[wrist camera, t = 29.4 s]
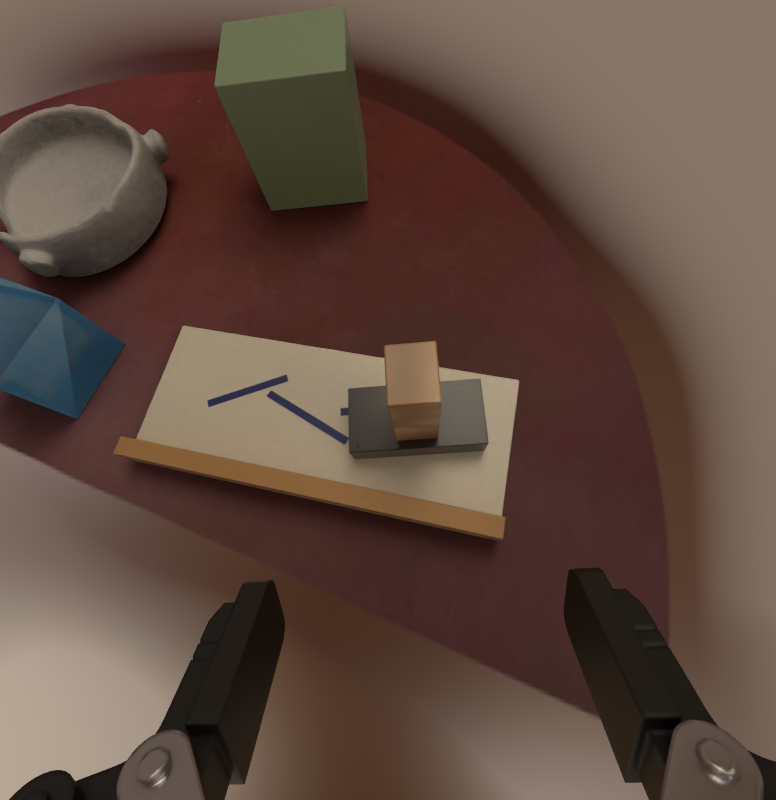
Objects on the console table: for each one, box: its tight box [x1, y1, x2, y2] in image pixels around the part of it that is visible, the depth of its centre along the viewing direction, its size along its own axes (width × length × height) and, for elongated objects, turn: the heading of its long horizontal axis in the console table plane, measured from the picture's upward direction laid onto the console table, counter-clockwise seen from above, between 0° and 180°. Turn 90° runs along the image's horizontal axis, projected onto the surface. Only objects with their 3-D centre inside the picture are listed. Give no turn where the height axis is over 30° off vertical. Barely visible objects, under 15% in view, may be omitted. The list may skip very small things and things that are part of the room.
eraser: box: [348, 341, 489, 459], centre depth 23 cm, size 8×4×8 cm, turn 93°
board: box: [113, 326, 519, 540], centre depth 27 cm, size 24×10×2 cm, turn 78°
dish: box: [0, 104, 169, 277], centre depth 34 cm, size 14×14×5 cm
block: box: [214, 7, 368, 211], centre depth 31 cm, size 8×6×10 cm
